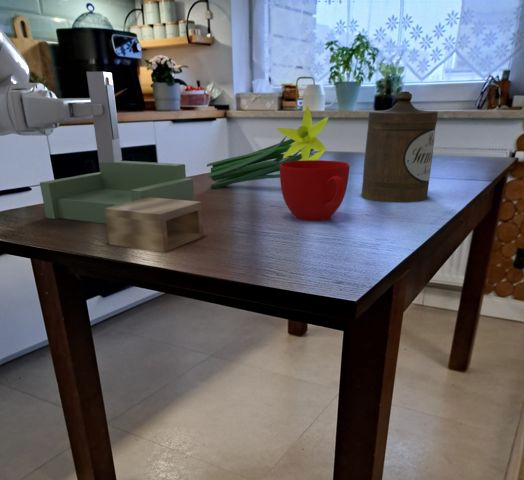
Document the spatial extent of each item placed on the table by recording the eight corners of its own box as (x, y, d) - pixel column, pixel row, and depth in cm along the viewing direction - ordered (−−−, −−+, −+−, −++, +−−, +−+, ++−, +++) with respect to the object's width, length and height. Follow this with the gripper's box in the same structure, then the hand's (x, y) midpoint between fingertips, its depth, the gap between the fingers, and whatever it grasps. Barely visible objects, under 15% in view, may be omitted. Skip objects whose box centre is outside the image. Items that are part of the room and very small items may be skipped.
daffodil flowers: (233, 184, 145) (353, 152, 128) (220, 221, 137) (345, 192, 121) (202, 133, 133) (330, 91, 116) (186, 170, 125) (320, 131, 109)
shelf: (109, 246, 84) (103, 208, 81) (152, 231, 92) (148, 196, 90) (164, 253, 79) (160, 214, 76) (203, 237, 88) (201, 201, 85)
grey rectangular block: (98, 162, 97) (86, 71, 90) (107, 160, 101) (95, 72, 94) (115, 162, 96) (104, 71, 90) (123, 160, 100) (113, 72, 94)
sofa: (46, 219, 103) (36, 168, 98) (106, 204, 116) (99, 159, 112) (145, 231, 92) (139, 175, 88) (198, 213, 106) (195, 164, 102)
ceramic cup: (306, 233, 90) (307, 173, 85) (269, 214, 104) (269, 162, 99) (370, 226, 94) (375, 168, 89) (326, 209, 108) (328, 158, 104)
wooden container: (422, 205, 111) (436, 90, 101) (354, 201, 116) (361, 91, 107) (431, 194, 123) (444, 91, 113) (369, 190, 128) (377, 92, 119)
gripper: (62, 125, 106) (128, 124, 105) (11, 131, 88) (91, 131, 87) (56, 90, 103) (124, 90, 102) (3, 90, 85) (84, 89, 84)
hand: (108, 109), depth 94 cm, fingers closed on grey rectangular block, 4 cm apart
